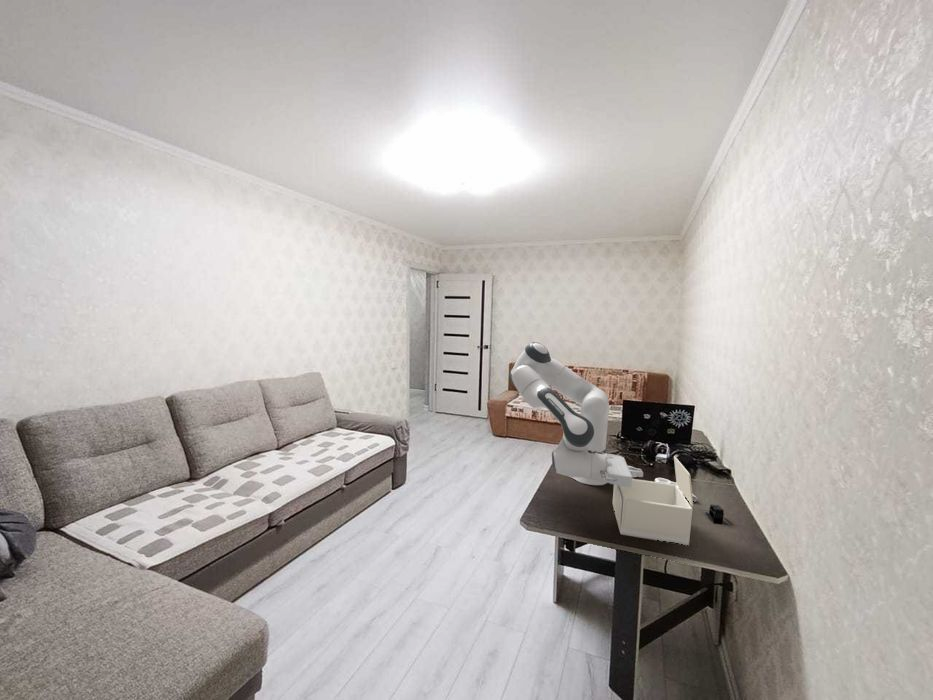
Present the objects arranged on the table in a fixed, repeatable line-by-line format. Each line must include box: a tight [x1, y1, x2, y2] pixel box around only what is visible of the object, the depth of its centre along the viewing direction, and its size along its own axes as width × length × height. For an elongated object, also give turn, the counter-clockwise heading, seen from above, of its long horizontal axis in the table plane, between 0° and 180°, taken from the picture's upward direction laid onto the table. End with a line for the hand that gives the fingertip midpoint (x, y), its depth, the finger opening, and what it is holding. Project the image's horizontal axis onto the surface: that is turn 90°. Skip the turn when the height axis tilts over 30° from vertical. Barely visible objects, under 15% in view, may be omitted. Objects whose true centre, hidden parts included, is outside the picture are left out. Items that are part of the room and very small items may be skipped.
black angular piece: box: [705, 504, 731, 526], centre depth 141 cm, size 12×7×5 cm, turn 171°
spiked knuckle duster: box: [654, 477, 698, 503], centre depth 160 cm, size 3×18×15 cm
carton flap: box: [673, 456, 694, 507], centre depth 130 cm, size 17×10×1 cm
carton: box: [612, 478, 693, 547], centre depth 133 cm, size 19×21×12 cm
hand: (642, 473), depth 132 cm, fingers closed
